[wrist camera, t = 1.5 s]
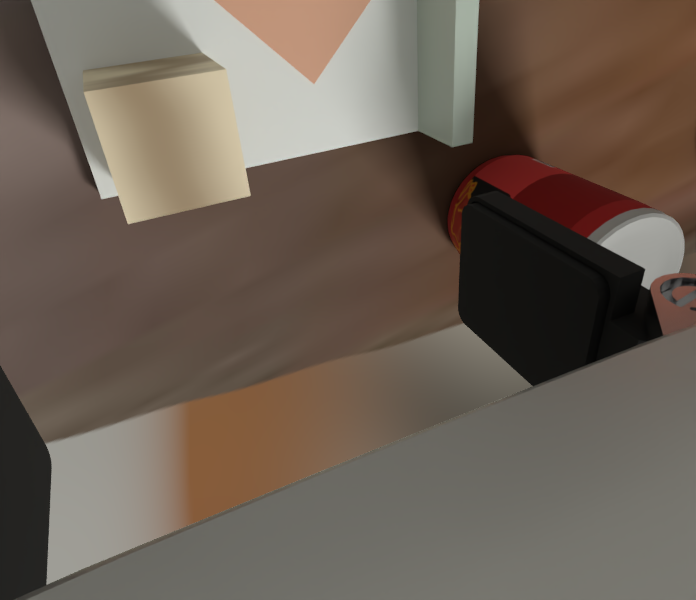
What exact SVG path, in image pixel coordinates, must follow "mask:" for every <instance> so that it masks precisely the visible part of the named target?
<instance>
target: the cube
mask: <svg viewBox="0 0 696 600" xmlns="http://www.w3.org/2000/svg"><path fill="white" fill-rule="evenodd" d="M83 91H84V95H85V98H86V101H87V104H88V107H89V110H90V113H91V116H92V119H93V122H94V125H95V128H96V131H97V134H98V137H99V140H100V143H101V146H102V148H103V151H104V154H105V157H106V160H107V163H108V166H109V169H110V172H111V175H112V178H113V181H114V184H115V187H116V190H117V193H118V196H119V199H120V202H121V205H122V208H123V211H124V214H125V217H126V220H127V223H128V224H131V223H135V222H139V221H144V220H148V219H152V218H157V217H161V216H165V215H170V214H174V213H178V212H183V211H187V210H191V209H196V208H200V207H204V206H208V205H213V204H217V203H221V202H226V201H230V200H234V199H239V198H243V197H247V196H251V195H250V190H249V185H248V180H247V174H246V169H245V164H244V159H243V154H242V149H241V143H240V138H239V133H238V128H237V123H236V117H235V112H234V107H233V102H232V97H231V92H230V86H229V81H228V76H227V71H226V69H225V68H224V67H222V66H221V65H219V64H218V63H216V62H215V61H214V60H212V59H211V58H209V57H208V56H206V55H205V54H203V53H196V54H190V55H183V56H176V57H169V58H163V59H156V60H149V61H143V62H136V63H129V64H123V65H116V66H109V67H103V68H96V69H89V70H83Z"/></svg>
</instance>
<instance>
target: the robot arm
mask: <svg viewBox="0 0 696 600" xmlns="http://www.w3.org/2000/svg"><path fill="white" fill-rule="evenodd" d="M644 273H645V268H643V267H641V266H639V265H637V264H635V263H633V262H631V261H630V260H628V259H626V258H624V257H622V256H620V255H618V254H616V253H614V252H612V251H611V250H609V249H607V248H605V247H603V246H601V245H599V244H597V243H595V242H594V241H592V240H590V239H588V238H586V237H584V236H582V235H580V234H578V233H576V232H575V231H573V230H571V229H569V228H567V227H565V226H563V225H561V224H559V223H558V222H556V221H554V220H552V219H550V218H548V217H546V216H544V215H542V214H540V213H539V212H537V211H535V210H533V209H531V208H529V207H527V206H525V205H523V204H522V203H520V202H518V201H516V200H514V199H512V198H510V197H508V196H506V195H504V194H503V193H501V192H498V191H492V192H489V193H485V194H481V195H478V196H474V197H471V198H470V199H469V201H468V203H467V205H466V206H464V208H463V210H462V220H461V247H460V274H459V301H458V311H459V315H460V317H461V319H462V321H463V322H464V324H465V325H466V326H467V327H469V328H470V329H471V330H472V331H473V332H474V333H475V334H477V336H479V337H480V338H481V339H482V340H483V341H484V342H485V343H486V344H487V345H488V346H489V347H491V348H492V349H493V350H494V351H495V352H496V353H497V354H498V355H499V356H500V357H502V358H503V359H504V360H505V361H506V362H507V363H508V364H509V365H510V366H511V367H512V368H514V369H515V370H516V371H517V372H518V373H519V374H520V375H521V376H522V377H523V378H524V379H526V380H527V381H528V382H529V383H530V384H531V385H532V386H533V387H530V388H528V389H525V390H523V391H520V392H517V393H515V394H512V395H510V396H507V397H505V398H502V399H500V400H497V401H495V402H492V403H490V404H487V405H485V406H482V407H480V408H477V409H475V410H472V411H470V412H467V413H465V414H462V415H460V416H457V417H455V418H452V419H450V420H447V421H445V422H442V423H440V424H437V425H435V426H432V427H430V428H427V429H425V430H423V431H420V432H417V433H415V434H412V435H410V436H407V437H405V438H402V439H400V440H398V441H395V442H393V443H390V444H388V445H385V446H383V447H380V448H378V449H375V450H373V451H370V452H368V453H365V454H363V455H360V456H358V457H355V458H353V459H351V460H348V461H346V462H343V463H340V464H338V465H336V466H333V467H331V468H328V469H326V470H323V471H321V472H318V473H316V474H313V475H311V476H308V477H307V478H304V479H301V480H299V481H296V482H294V483H291V484H289V485H286V486H284V487H282V488H279V489H277V490H274V491H272V492H269V493H267V494H264V495H262V496H259V497H257V498H255V499H252V500H250V501H247V502H245V503H242V504H240V505H237V506H235V507H233V508H230V509H228V510H225V511H223V512H221V513H218V514H215V515H213V516H211V517H208V518H206V519H203V520H201V521H199V522H196V523H194V524H191V525H189V526H186V527H184V528H181V529H179V530H176V531H174V532H172V533H169V534H167V535H164V536H162V537H159V538H157V539H154V540H152V541H150V542H147V543H145V544H142V545H140V546H137V547H135V548H133V549H130V550H128V551H125V552H123V553H121V554H118V555H116V556H113V557H111V558H108V559H106V560H104V561H101V562H99V563H96V564H94V565H91V566H89V567H86V568H84V569H82V570H79V571H78V572H75V573H73V574H70V575H69V576H66V577H64V578H61V579H59V580H57V581H55V582H52V583H50V584H48V585H46V579H47V557H48V535H49V511H50V489H51V458H50V454H49V451H48V449H47V447H46V445H45V443H44V441H43V439H42V438H41V436H40V434H39V432H38V431H37V429H36V427H35V425H34V424H33V422H32V420H31V418H30V417H29V415H28V413H27V412H26V410H25V408H24V406H23V405H22V403H21V401H20V399H19V398H18V396H17V394H16V392H15V391H14V389H13V387H12V385H11V384H10V382H9V380H8V378H7V377H6V375H5V373H4V371H3V370H2V368H1V366H0V600H696V274H689V273H673V274H668V275H663V276H661V277H658V278H656V279H655V280H654V281H653V282H652V283H651V286H650V289H647V288H645V287H643V286H642V285H641V284H642V281H643V277H644Z"/></svg>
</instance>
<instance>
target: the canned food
mask: <svg viewBox="0 0 696 600" xmlns="http://www.w3.org/2000/svg"><path fill="white" fill-rule="evenodd" d="M492 191H498V192H501V193H503V194H504V195H506V196H508V197H510V198H512V199H514V200H516V201H518V202H520V203H522V204H523V205H525V206H527V207H529V208H531V209H533V210H535V211H537V212H539V213H540V214H542V215H544V216H546V217H548V218H550V219H552V220H554V221H556V222H558V223H559V224H561V225H563V226H565V227H567V228H569V229H571V230H573V231H575V232H576V233H578V234H580V235H582V236H584V237H586V238H588V239H590V240H592V241H594V242H595V243H597V244H599V245H601V246H603V247H605V248H607V249H609V250H611V251H612V252H614V253H616V254H618V255H620V256H622V257H624V258H626V259H628V260H630V261H631V262H633V263H635V264H637V265H639V266H641V267H643V268H645V273H644V277H643V281H642V284H641V285H642V286H643V287H645V288H647V289H650V286H651V283H652V282H653V281H654V280H655V279H656V278H658V277H661V276H663V275H668V274H673V273H678V272H679V270H680V267H681V264H682V259H683V255H684V236H683V231H682V229H681V228H680V226H679V224H678V223H677V222H676V221H675V220H674V219H673V218H672V217H670V216H667V215H666V214H664V213H663V212H661V211H659V210H657V209H654V208H652V207H649V206H648V205H646V204H643V203H641V202H639V201H636V200H634V199H631V198H629V197H626V196H624V195H622V194H619V193H617V192H614V191H612V190H609V189H607V188H605V187H602V186H600V185H597V184H595V183H592V182H590V181H588V180H585V179H583V178H580V177H578V176H576V175H573V174H571V173H568V172H566V171H563V170H561V169H559V168H556V167H554V166H551V165H549V164H546V163H544V162H542V161H539V160H537V159H534V158H532V157H529V156H524V155H506V156H499V157H496V158H493V159H490V160H488V161H486V162H485V163H483V164H481V165H479V166H478V167H477V168H476V169H474V170H473V171H472V172H471V173H470V174H469V175H468V176H467V177H466V178H465V179H464V180H463V182H462V183H461V185H460V186H459V188H458V189H457V191H456V193H455V195H454V197H453V199H452V201H451V205H450V208H449V213H448V231H449V235H450V238H451V240H452V242H453V244H454V246H455V248H456V249H457V251H458V252H459V254H460V247H461V220H462V210H463V208H464V206H466V205H467V203H468V201H469V199H470V198H471V197H474V196H478V195H481V194H485V193H489V192H492Z"/></svg>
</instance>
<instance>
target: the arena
mask: <svg viewBox="0 0 696 600" xmlns="http://www.w3.org/2000/svg"><path fill="white" fill-rule="evenodd" d="M31 2H32V5H33V8H34V11H35V14H36V16H37V19H38V22H39V25H40V28H41V30H42V33H43V36H44V39H45V42H46V44H47V47H48V50H49V53H50V56H51V58H52V61H53V64H54V67H55V70H56V72H57V75H58V78H59V81H60V84H61V87H62V89H63V92H64V95H65V98H66V101H67V103H68V106H69V109H70V112H71V115H72V117H73V120H74V123H75V126H76V129H77V131H78V134H79V137H80V140H81V143H82V145H83V148H84V151H85V154H86V157H87V159H88V162H89V165H90V168H91V171H92V174H93V176H94V179H95V182H96V185H97V188H98V190H99V193H100V196H101V199H105V198H109V197H114V196H118V193H117V190H116V187H115V184H114V181H113V178H112V175H111V172H110V169H109V166H108V163H107V160H106V157H105V154H104V151H103V148H102V146H101V143H100V140H99V137H98V134H97V131H96V128H95V125H94V122H93V119H92V116H91V113H90V110H89V107H88V104H87V101H86V98H85V95H84V91H83V70H89V69H96V68H103V67H109V66H116V65H123V64H129V63H136V62H143V61H149V60H156V59H163V58H169V57H176V56H183V55H190V54H196V53H203V54H205V55H206V56H208V57H209V58H211V59H212V60H214V61H215V62H216V63H218V64H219V65H221V66H222V67H224V68H225V69H226V71H227V76H228V81H229V86H230V92H231V97H232V102H233V107H234V112H235V117H236V123H237V128H238V133H239V138H240V143H241V149H242V154H243V159H244V164H245V168H248V167H253V166H258V165H262V164H267V163H272V162H276V161H281V160H286V159H290V158H295V157H299V156H304V155H309V154H313V153H318V152H323V151H327V150H332V149H337V148H341V147H346V146H350V145H355V144H360V143H364V142H369V141H374V140H378V139H383V138H388V137H392V136H397V135H402V134H406V133H411V132H415V131H420V132H422V133H424V134H426V135H428V136H430V137H432V138H434V139H436V140H438V141H440V142H442V143H444V144H447V145H449V146H451V147H456V146H460V145H465V144H469V143H473V124H474V102H475V80H476V58H477V36H478V14H479V0H31Z"/></svg>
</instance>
